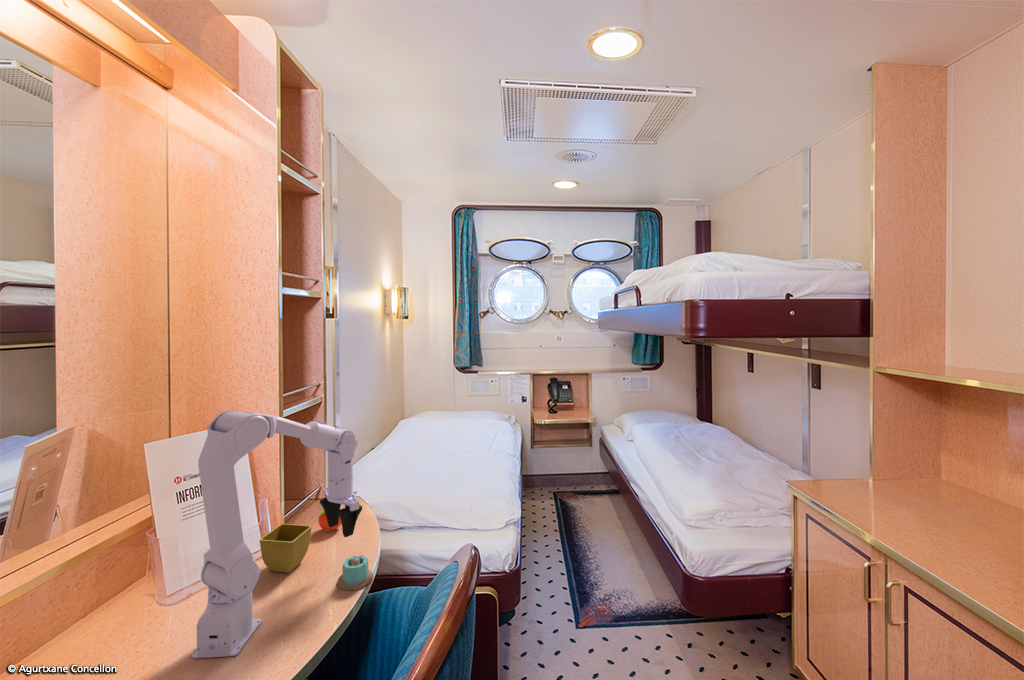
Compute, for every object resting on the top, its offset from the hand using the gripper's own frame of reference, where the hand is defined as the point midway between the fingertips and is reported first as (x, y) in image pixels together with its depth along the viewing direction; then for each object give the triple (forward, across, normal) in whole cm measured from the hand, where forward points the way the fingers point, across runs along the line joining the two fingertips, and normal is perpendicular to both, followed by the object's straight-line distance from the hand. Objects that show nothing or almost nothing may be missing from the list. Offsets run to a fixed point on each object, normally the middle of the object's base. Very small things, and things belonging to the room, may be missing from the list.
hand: (340, 530), depth 105 cm
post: (+10, -7, 0) cm, 12 cm away
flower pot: (+10, +11, +8) cm, 17 cm away
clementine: (+10, +22, -8) cm, 25 cm away
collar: (+9, -7, 0) cm, 12 cm away
